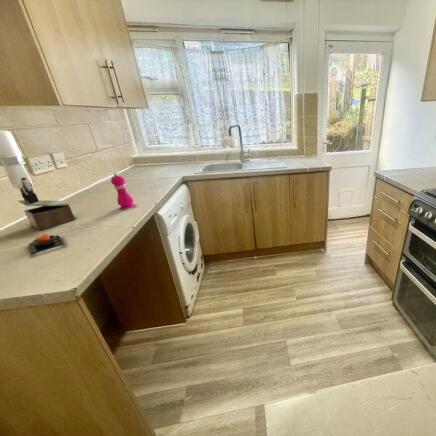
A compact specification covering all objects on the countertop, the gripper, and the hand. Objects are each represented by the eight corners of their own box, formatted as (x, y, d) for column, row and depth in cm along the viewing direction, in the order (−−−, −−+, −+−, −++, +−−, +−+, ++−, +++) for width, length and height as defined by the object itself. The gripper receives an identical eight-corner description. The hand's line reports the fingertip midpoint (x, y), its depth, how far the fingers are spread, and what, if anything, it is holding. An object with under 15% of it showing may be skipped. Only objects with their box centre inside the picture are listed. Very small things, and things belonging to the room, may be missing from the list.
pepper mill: (121, 207, 136) (108, 172, 127) (136, 205, 138) (124, 170, 130) (119, 212, 130) (105, 175, 121) (134, 209, 132) (122, 173, 124)
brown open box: (39, 230, 110) (32, 215, 107) (31, 225, 116) (23, 210, 113) (75, 220, 121) (69, 205, 118) (66, 215, 126) (60, 201, 123)
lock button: (51, 239, 94) (49, 235, 93) (38, 243, 92) (36, 239, 91) (49, 237, 96) (47, 233, 96) (37, 240, 94) (35, 236, 93)
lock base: (65, 248, 95) (61, 239, 94) (33, 258, 89) (28, 248, 87) (60, 239, 102) (56, 231, 100) (31, 248, 96) (26, 239, 94)
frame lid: (26, 206, 105) (26, 193, 105) (18, 201, 111) (18, 189, 110) (69, 205, 118) (69, 193, 117) (59, 201, 123) (59, 190, 122)
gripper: (-7, 161, 104) (15, 201, 112) (4, 165, 96) (27, 207, 104) (17, 158, 110) (36, 196, 118) (30, 161, 102) (49, 201, 109)
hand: (32, 201), depth 111 cm, fingers closed on frame lid, 5 cm apart
